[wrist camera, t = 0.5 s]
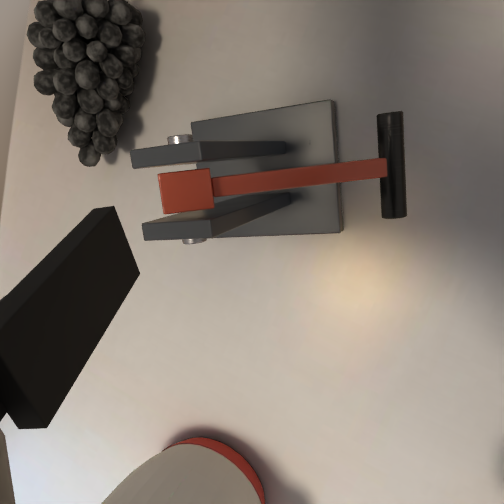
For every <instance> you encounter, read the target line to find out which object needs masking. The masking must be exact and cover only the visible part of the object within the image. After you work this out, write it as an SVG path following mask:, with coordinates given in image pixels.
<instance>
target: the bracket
mask: <svg viewBox="0 0 504 504" xmlns="http://www.w3.org/2000/svg"><path fill="white" fill-rule="evenodd" d="M191 129H192V135H191V134H187V135H176V136H170V137H168V138H167V139H168V145H164V146H157V147H150V148H143V149H136V150H131V151H130V156H131V162H132V167H133V168H134V169H139V168H150V167H161V166H172V165H183V164H194V163H196V166H197V169H204V168H210V174H211V178H212V177H219V176H228V175H237V174H245V173H254V172H263V171H271V170H280V169H289V168H297V167H306V166H315V165H323V164H332V163H339V158H338V144H337V129H336V115H335V102H334V101H333V100H324V101H318V102H312V103H305V104H299V105H293V106H287V107H281V108H275V109H269V110H263V111H257V112H251V113H245V114H239V115H233V116H226V117H220V118H214V119H208V120H202V121H196V122H191ZM213 197H214V196H213ZM214 206H215V207H214V208H213V209H205V210H197V211H189V212H181V213H178V214H174V215H171V216H167V217H163V218H160V219H156V220H153V221H149V222H145V223H142V229H143V235H144V240H145V241H151V240H177V239H182V241H183V244H196V243H201V242H204V241H206V240H207V238H225V237H251V236H277V235H303V234H328V233H341V232H342V231H343V216H342V202H341V187H340V183H331V184H323V185H314V186H306V187H298V188H289V189H281V190H272V191H264V192H255V193H247V194H239V195H230V196H222V197H214Z"/></svg>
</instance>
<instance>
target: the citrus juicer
mask: <svg viewBox="0 0 504 504" xmlns="http://www.w3.org/2000/svg"><path fill="white" fill-rule="evenodd" d="M102 504H265V498H264V492H263V489H262V486H261V483H260V480H259V479H258V477H257V475H256V473H255V471H254V470H253V469H252V467H251V466H250V465H249V463H248V462H247V461H246V460H245V459H244V458H243V457H242V456H241V455H240V454H238V453H237V452H236V451H234V450H233V449H232V448H230V447H229V446H227V445H225V444H223V443H221V442H218V441H215V440H212V439H208V438H191V439H187V440H184V441H181V442H178V443H176V444H173V445H171V446H169V447H167V448H166V449H164V450H163V451H162V452H161V453H159V454H157V455H155V456H154V457H152V458H151V459H149V460H147V461H146V462H145V463H143V464H142V465H141V466H139V467H138V468H137V469H135V470H134V471H133V472H132V473H131V474H130V475H129V476H128V477H126V478H125V479H124V480H123V481H122V482H121V483H120V484H119V485H118V486H117V487H116V488H115V489H114V491H113V492H112V493H111V494H110V495H109V496H108V497H107V498H106V499H105V500H104V501H103V502H102Z"/></svg>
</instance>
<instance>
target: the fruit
mask: <svg viewBox="0 0 504 504" xmlns="http://www.w3.org/2000/svg"><path fill="white" fill-rule="evenodd" d="M34 13H35V18H36V19H37V20H38V22H34V23H32V24H30V25H29V27H28V31H27V36H28V39H29V41H30V42H31V43H32V44H33V45H34V46H35V47H37V48H36V49H35V50H34V53H33V59H34V61H35V63H36V65H37V66H39V67H40V68H42V69H43V71H40V72H38V73H37V74H36V75H34V86H35V88H36V89H37V91H38V92H40V93H41V94H43V95H52V94H54V95H55V98H54V101H53V105H52V108H53V111H54V113H55V114H56V116H57V119H58V121H59V122H60V123H62V124H63V125H64V126H67V127H71V128H70V130H69V132H68V140H69V141H70V142H71V144H72V145H73V146H76V147H80V151H79V154H78V157H79V160H80V162H81V163H82V164H83V165H85V166H88V167H91V166H96V164H97V163H98V162H99V160H100V156H101V154H109V153H111V152H112V151H113V150H114V149H115V146H116V145H117V141H118V140H117V136H116V134H117V132H118V130H119V127H120V126H121V124H122V122H123V118H122V115H121V114H123V113H125V112H126V111H128V110H129V108H130V106H129V100H128V99H127V98H126V97H125V96H123V95H129V94H131V93H132V91H133V89H134V83H133V79H132V78H133V77H135V76H136V75H137V74H138V72H139V67H138V64H137V62H138V61H139V59H140V58H141V49H140V47H141V46H142V45H143V43H144V40H145V33H144V31H143V30H142V29H141V28H140V27H141V25H142V17H141V13H140V12H139V11H138V10H136V9H135V8H134V7H132V6H131V5H130V4H128V2H126V1H125V0H109V1H107V0H44V1H38V3H37V5H36V7H35V9H34ZM93 61H95V62H93ZM91 138H92V139H91Z"/></svg>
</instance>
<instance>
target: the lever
mask: <svg viewBox="0 0 504 504" xmlns="http://www.w3.org/2000/svg"><path fill="white" fill-rule="evenodd" d="M377 133H378V153H379V158H375V159H367V160H358V161H349V162H341V163H332V164H323V165H315V166H306V167H297V168H289V169H280V170H271V171H263V172H254V173H245V174H237V175H228V176H219V177H212V178H211V174H210V168H204V169H195V170H186V171H177V172H168V173H160V174H158V181H159V187H160V194H161V200H162V207H163V213H164V214H172V213H180V212H189V211H197V210H205V209H213V208H214V207H215V206H214V197H222V196H230V195H239V194H247V193H255V192H264V191H272V190H281V189H289V188H298V187H306V186H314V185H323V184H331V183H340V182H348V181H357V180H365V179H374V178H380V193H381V213H382V218H385V219H396V218H403V217H406V216H407V204H406V177H405V151H404V125H403V112H402V111H398V112H389V113H383V114H378V115H377ZM213 196H214V197H213Z"/></svg>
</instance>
